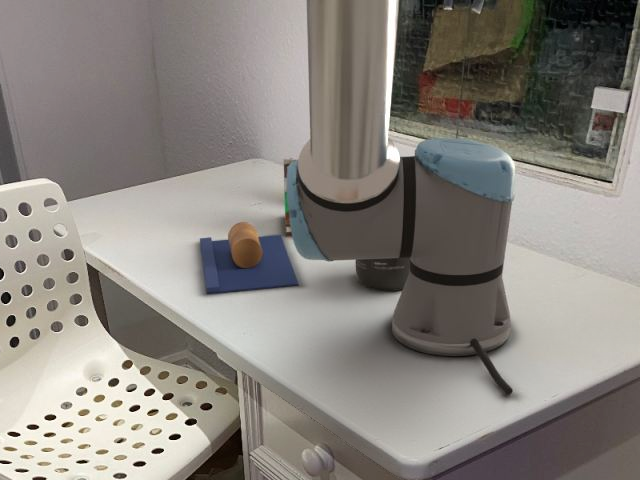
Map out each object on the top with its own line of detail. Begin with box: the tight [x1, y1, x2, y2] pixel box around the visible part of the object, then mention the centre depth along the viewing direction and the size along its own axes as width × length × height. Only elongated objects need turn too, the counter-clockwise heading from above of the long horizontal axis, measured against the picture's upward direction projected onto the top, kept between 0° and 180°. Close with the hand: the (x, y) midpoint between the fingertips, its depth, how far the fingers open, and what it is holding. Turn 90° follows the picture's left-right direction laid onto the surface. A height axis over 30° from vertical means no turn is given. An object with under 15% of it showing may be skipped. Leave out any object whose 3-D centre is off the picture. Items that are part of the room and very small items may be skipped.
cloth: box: [199, 234, 300, 295], centre depth 132 cm, size 22×14×1 cm, turn 6°
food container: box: [283, 158, 298, 237], centre depth 141 cm, size 12×6×10 cm, turn 179°
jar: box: [354, 258, 410, 292], centre depth 121 cm, size 10×10×8 cm
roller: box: [227, 221, 262, 268], centre depth 131 cm, size 8×5×5 cm
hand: (347, 107), depth 118 cm, fingers closed
